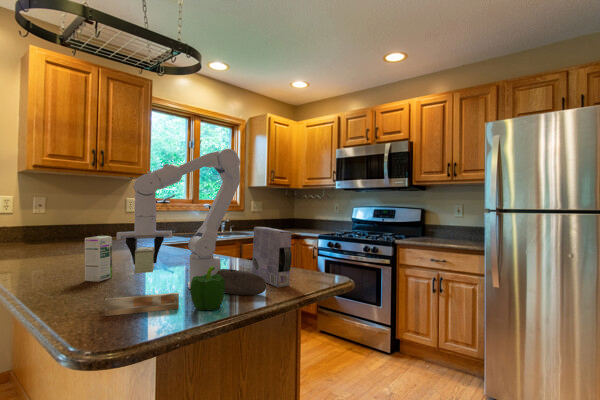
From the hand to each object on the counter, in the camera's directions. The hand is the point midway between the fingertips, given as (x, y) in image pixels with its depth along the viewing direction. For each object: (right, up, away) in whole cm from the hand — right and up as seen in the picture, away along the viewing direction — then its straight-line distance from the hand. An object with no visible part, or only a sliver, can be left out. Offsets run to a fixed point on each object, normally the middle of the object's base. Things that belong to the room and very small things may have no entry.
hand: (145, 263), depth 97 cm
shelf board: (+6, -8, -12) cm, 16 cm away
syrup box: (-23, -9, +16) cm, 29 cm away
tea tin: (0, -2, 0) cm, 2 cm away
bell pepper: (+22, -9, -14) cm, 28 cm away
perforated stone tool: (+28, -9, -1) cm, 30 cm away
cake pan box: (+35, -9, +14) cm, 39 cm away
